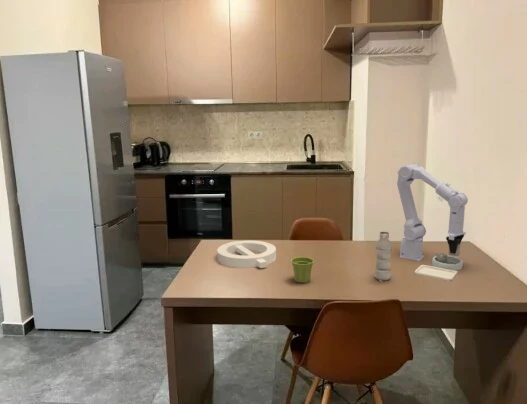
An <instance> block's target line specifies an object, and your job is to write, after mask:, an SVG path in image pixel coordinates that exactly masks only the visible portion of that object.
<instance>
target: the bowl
mask: <svg viewBox="0 0 527 404" xmlns="http://www.w3.org/2000/svg"><path fill="white" fill-rule="evenodd" d="M436 257H437V255H436V256H435V255H434V256H433V257H432V260H431V264H432V265H431V266H433V267H438V268H443V269H449V270H454V271H460V270H462V268H463V263H464V261H463V260H462V259H461V258H459V257H457V256H453V255H447V264H446V263H441V262H438V261H436Z"/></svg>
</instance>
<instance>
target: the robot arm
mask: <svg viewBox="0 0 527 404" xmlns="http://www.w3.org/2000/svg"><path fill="white" fill-rule="evenodd" d="M397 175H398V176H397V182H396V184H397V188H398V193H399V197H400V201H401V205H402V210H403V214H404V217H405V221H404V225H403V229H404V230H403V236H404V237H402V239H401V241H400V250H399V258H403V259H409V260H413V261H414V260H415V261H421V260H422V259H423V258H424V257H425V255H422V254H423V240H424V236H426V234H427V230H426V227H425V225H424V224H423V221H422V220H421V219H420V218H419V217H418V212H417V208H416V205H415V200H414V196H413V193H412V189H411V188H412V187H411V184H413V182H414V180H421V181H422V182H425V183H426V184H427V185H429V186H430V187H432V188H433V189H434V190H435V193H436V194H437V195H438V196H440V198H442V199H443V200H444V201H446V202H447V203H448V206H449V209H450V210H449V219H448V221H449V222H448V230H447V234H448V235H447V236H446V237H445V240H446V242H447V243H448V251H449V250H450V253H453V254H455V253H456V250H457V246H458V243H459V244H460V245H461V243H462V240H463V238H464V237H465V235H466V234H467V232H466V231H464V225H465V224H464V223H465V222H464V221H465V209H466V205H467V203H468V197H467V196H466V194H465V193H464V192H459V191H458V190H456V189H454V188H453V187H451V186H450V185H451V184H449V183H448V182H447V183H446V182H440V181H439V180H438V179H436V178H435V177H434V176H433V174H431V173H429V172H428V171H427V170H426V169H425V167H423V166H421V165H420V164H419V163H412V164H407V165H406V164H405V165H402V166H401V167H399V170H398V171H397Z"/></svg>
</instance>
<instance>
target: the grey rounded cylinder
mask: <svg viewBox="0 0 527 404" xmlns="http://www.w3.org/2000/svg"><path fill="white" fill-rule="evenodd" d="M460 255H461V243H460V244H459V243H458V246H457V250H456V253H455V254H453V253H450V250H449V249H448V256H453V257H457V256H458V257H459V256H460Z"/></svg>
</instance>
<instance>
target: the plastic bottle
mask: <svg viewBox="0 0 527 404" xmlns="http://www.w3.org/2000/svg"><path fill="white" fill-rule="evenodd" d="M389 238H390V232H388V231H380V232H379V239H378V240H377V241H376V244H375V250H376V265H375V270H374V277H375V279H376V280H378V281H381V282H382V281H383V282H384V281H385V282H386V281H389V279H390V278H391V275H392V271H391V253H392V247H393V245H392V242H391V241H390V239H389Z"/></svg>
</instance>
